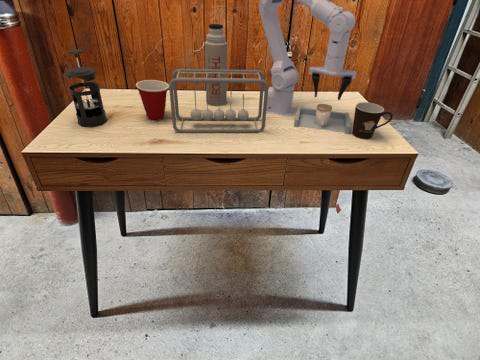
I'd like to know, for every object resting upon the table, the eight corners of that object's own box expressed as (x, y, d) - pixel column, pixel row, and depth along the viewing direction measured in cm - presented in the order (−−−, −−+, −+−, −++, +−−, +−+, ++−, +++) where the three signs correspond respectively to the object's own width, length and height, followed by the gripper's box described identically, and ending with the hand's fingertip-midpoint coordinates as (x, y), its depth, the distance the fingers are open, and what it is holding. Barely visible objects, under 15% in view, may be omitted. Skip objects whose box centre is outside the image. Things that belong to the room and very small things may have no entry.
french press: (99, 129, 104) (81, 56, 90) (71, 127, 104) (49, 54, 91) (114, 114, 113) (99, 46, 100) (88, 112, 114) (70, 44, 100)
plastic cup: (174, 122, 110) (170, 88, 103) (141, 125, 107) (136, 90, 100) (170, 110, 118) (167, 77, 111) (140, 112, 116) (135, 79, 109)
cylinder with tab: (313, 127, 110) (316, 110, 106) (314, 119, 115) (317, 103, 111) (328, 129, 109) (332, 112, 105) (328, 121, 114) (332, 104, 110)
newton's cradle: (260, 119, 114) (264, 69, 104) (264, 133, 106) (269, 80, 95) (176, 119, 112) (171, 68, 102) (173, 133, 103) (168, 78, 93)
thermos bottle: (222, 107, 122) (222, 27, 106) (203, 104, 124) (200, 25, 107) (229, 100, 128) (230, 23, 112) (210, 97, 130) (209, 21, 114)
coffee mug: (345, 137, 105) (353, 109, 99) (351, 127, 111) (358, 100, 106) (382, 146, 101) (392, 117, 95) (386, 135, 107) (395, 107, 101)
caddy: (293, 127, 110) (294, 119, 108) (296, 113, 120) (297, 105, 118) (348, 134, 107) (350, 126, 105) (347, 119, 117) (348, 111, 115)
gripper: (311, 56, 97) (304, 99, 105) (361, 61, 95) (350, 104, 103) (312, 50, 103) (305, 91, 111) (358, 55, 100) (348, 96, 108)
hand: (327, 97), depth 107 cm, fingers open, 7 cm apart
